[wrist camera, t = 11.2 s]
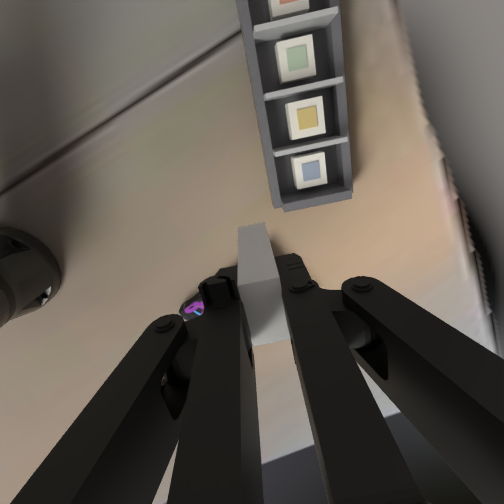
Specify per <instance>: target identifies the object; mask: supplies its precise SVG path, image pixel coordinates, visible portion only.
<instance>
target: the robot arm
mask: <svg viewBox="0 0 504 504" xmlns="http://www.w3.org/2000/svg"><path fill="white" fill-rule="evenodd" d="M60 280H61V276H60V270H59V266H58V264H57V261H56V259H55V258H54V256H53V255H52V253H51V252H50V251H49V249H48V248H47V247H46V246H45V245H44V244H43V243H41V242H40V241H39V240H37V239H36V238H34V237H33V236H31V235H29V234H27V233H25V232H23V231H20V230H17V229H13V228H8V227H0V328H1V327H2V326H3V325H4V324H6V323H7V322H8V321H9V320H12V319H15V318H17V317H20V316H22V315H25V314H28V313H30V312H33V311H35V310H37V309H39V308H41V307H42V306H44V305H45V304H46V303H47V302H48V301H49V300H51V299H52V298H53V297H54V296H55V294H56V293H57V291H58V289H59V286H60ZM198 288H199V292H200V295H201V298H202V301H203V304H204V310H203V313H202V314H201V315H199V316H197V317H195V318H193V319H190V320H188V321H185V322H184V319H183V317H182V316H181V315H179V314H170V315H165V316H162V317H159V318H158V319H157V320H155V321H153V322H152V323H151V324H150V325H149V326H148V327H147V328H146V330H145V331H144V332H143V334H142V335H141V336H140V337H139V339H138V340H137V341H136V342H135V344H134V345H133V346H132V348H131V349H130V350H129V351H128V353H127V354H126V355H125V357H124V358H123V359H122V360H121V362H120V363H119V364H118V366H117V367H116V368H115V369H114V371H113V372H112V373H111V375H110V376H109V377H108V378H107V380H106V381H105V382H104V384H103V385H102V386H101V387H100V389H99V390H98V391H97V393H96V394H95V395H94V396H93V398H92V399H91V400H90V402H89V403H88V404H87V405H86V407H85V408H84V409H83V411H82V412H81V413H80V414H79V416H78V417H77V418H76V420H75V421H74V422H73V423H72V425H71V426H70V427H69V429H68V430H67V431H66V432H65V434H64V435H63V436H62V438H61V439H60V440H59V441H58V443H57V444H56V445H55V447H54V448H53V449H52V450H51V452H50V453H49V454H48V456H47V457H46V458H45V459H44V461H43V462H42V463H41V465H40V466H39V467H38V468H37V470H36V471H35V472H34V474H33V475H32V476H31V477H30V479H29V480H28V481H27V483H26V484H25V485H24V486H23V488H22V489H21V490H20V492H19V493H18V494H17V495H16V497H15V498H14V499H13V501H12V502H11V503H10V504H152V502H153V500H154V497H155V495H156V492H157V490H158V488H159V485H160V483H161V481H162V478H163V476H164V473H165V471H166V469H167V466H168V464H169V461H170V459H171V457H172V454H173V452H174V450H175V447H176V445H177V442H178V440H179V442H178V447H177V452H176V458H175V463H174V468H173V473H172V479H171V484H170V489H169V495H168V500H167V504H264V494H263V481H262V467H261V466H262V465H261V451H260V436H259V421H258V407H257V392H256V378H255V363H254V354H253V350H252V346H251V341H252V345H253V346H258V345H263V344H268V343H274V342H279V341H284V340H289V339H291V344H292V350H293V355H294V360H295V364H296V366H297V371H298V375H299V379H300V383H301V388H302V392H303V396H304V400H305V405H306V409H307V413H308V417H309V422H310V426H311V430H312V434H313V439H314V443H315V447H316V451H317V456H318V460H319V464H320V468H321V473H322V477H323V481H324V485H325V490H326V494H327V498H328V503H329V504H431V503H430V502H427V501H426V499H425V498H424V497H423V495H422V494H421V492H420V490H419V488H418V486H417V484H416V482H415V480H414V478H413V476H412V474H411V472H410V470H409V468H408V466H407V464H406V462H405V460H404V458H403V456H402V454H401V452H400V450H399V448H398V446H397V444H396V442H395V440H394V438H393V436H392V434H391V432H390V430H389V427H388V425H387V423H386V421H385V419H384V417H383V415H382V413H381V411H380V409H379V407H378V405H377V403H376V401H375V399H374V397H373V395H372V393H371V391H370V389H369V387H368V385H367V383H366V381H365V379H364V377H363V375H362V373H361V371H360V369H359V367H358V365H357V363H358V364H359V365H360V366H361V367H362V368H363V369H364V370H365V372H366V373H367V374H368V375H369V376H370V377H371V378H372V379H373V381H374V382H375V383H376V384H377V385H378V386H379V387H380V388H381V390H382V391H383V392H384V393H385V394H386V395H387V396H388V397H389V399H390V400H391V401H392V402H393V403H394V404H395V405H396V406H397V408H398V409H399V410H400V411H401V412H402V413H403V414H404V415H405V417H406V418H407V419H408V420H409V421H410V422H411V423H412V424H413V426H414V427H415V428H416V429H417V430H418V431H419V432H420V433H421V435H422V436H423V437H424V438H425V439H426V440H427V441H428V442H429V444H430V445H431V446H432V447H433V448H434V449H435V450H436V451H437V453H438V454H439V455H440V456H441V457H442V458H443V459H444V460H445V462H446V463H447V464H448V465H449V466H450V467H451V468H452V469H453V471H454V472H455V473H456V474H457V475H458V476H459V477H460V478H461V480H462V481H463V482H464V483H465V484H466V485H467V486H468V488H469V489H470V490H471V491H472V492H473V493H474V494H475V495H476V496H477V498H478V499H479V500H480V501H481V502H482V503H483V504H504V359H502V358H501V357H499V356H497V355H496V354H494V353H493V352H491V351H490V350H488V349H486V348H485V347H483V346H482V345H480V344H479V343H477V342H475V341H474V340H472V339H471V338H469V337H468V336H466V335H464V334H463V333H461V332H460V331H458V330H456V329H455V328H453V327H452V326H450V325H449V324H447V323H445V322H444V321H442V320H441V319H439V318H438V317H436V316H434V315H433V314H431V313H430V312H428V311H427V310H425V309H423V308H422V307H420V306H419V305H417V304H416V303H414V302H412V301H411V300H409V299H408V298H406V297H404V296H403V295H401V294H400V293H398V292H397V291H395V290H393V289H392V288H390V287H389V286H387V285H386V284H384V283H382V282H381V281H379V280H377V279H375V278H372V277H366V276H361V277H360V276H357V277H354V278H350V279H348V280H346V281H344V282H343V284H342V287H341V290H327V289H322V288H320V287H319V285H318V284H317V283H316V282H315V281H314V280H311V277H310V275H309V273H308V271H307V269H306V267H305V265H304V263H303V261H302V258H301V257H300V256H299V255H297V254H295V253H292V254H287V255H282V256H277V257H274V255H273V251H272V247H271V244H270V240H269V236H268V233H267V229H266V225H265V222H263V223H258V224H253V225H248V226H243V227H238V265H237V266H232V267H227V268H222V269H220V270H219V271H218V272H217V273H216V274H215V276H212V277H209V278H207V279H205V280H204V281H202V282H201V283H200V284H199V286H198ZM356 361H357V362H356ZM163 377H164V378H163ZM162 379H163V380H162Z"/></svg>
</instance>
